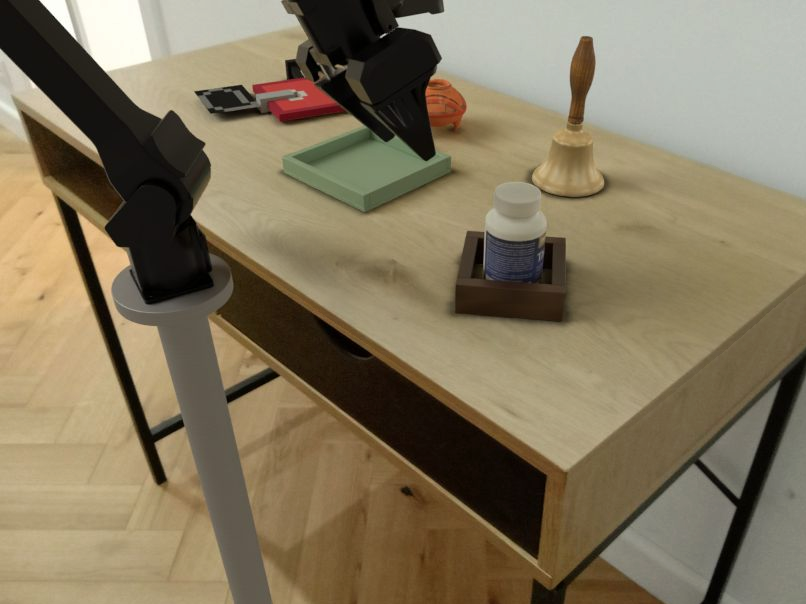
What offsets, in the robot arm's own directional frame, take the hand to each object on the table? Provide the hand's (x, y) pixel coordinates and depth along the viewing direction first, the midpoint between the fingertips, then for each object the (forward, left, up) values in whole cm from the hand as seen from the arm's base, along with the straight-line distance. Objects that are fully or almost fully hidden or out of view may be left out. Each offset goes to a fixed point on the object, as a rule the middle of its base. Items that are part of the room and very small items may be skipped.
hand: (409, 148), depth 67 cm
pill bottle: (+6, -8, -12) cm, 16 cm away
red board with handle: (+9, +45, -12) cm, 48 cm away
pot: (+18, +27, -12) cm, 35 cm away
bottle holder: (+6, -8, -12) cm, 15 cm away
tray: (+5, +20, -12) cm, 24 cm away
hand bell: (+24, +7, -12) cm, 28 cm away
